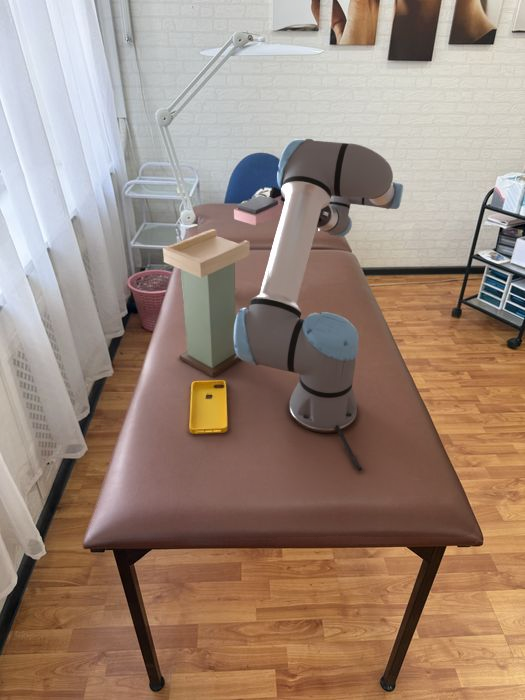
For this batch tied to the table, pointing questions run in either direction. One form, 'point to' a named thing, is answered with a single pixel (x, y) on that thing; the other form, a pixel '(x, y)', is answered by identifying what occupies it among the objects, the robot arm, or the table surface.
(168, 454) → the table surface
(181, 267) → the stand
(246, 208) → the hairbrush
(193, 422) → the phone case
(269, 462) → the table surface
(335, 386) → the robot arm
